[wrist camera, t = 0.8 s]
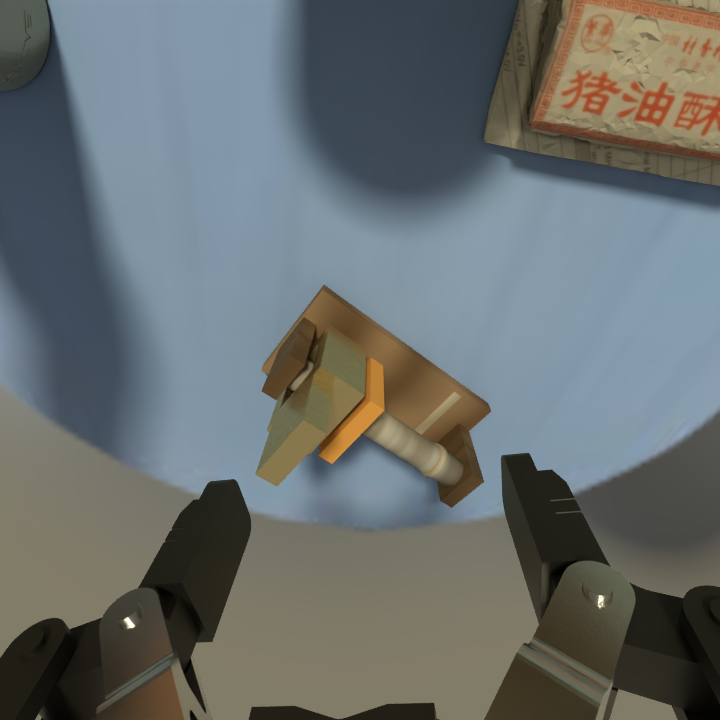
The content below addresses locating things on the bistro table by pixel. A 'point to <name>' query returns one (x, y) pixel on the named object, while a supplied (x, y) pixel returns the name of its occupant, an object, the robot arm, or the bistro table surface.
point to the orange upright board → (357, 415)
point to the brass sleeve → (314, 404)
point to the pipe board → (393, 395)
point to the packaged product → (614, 85)
